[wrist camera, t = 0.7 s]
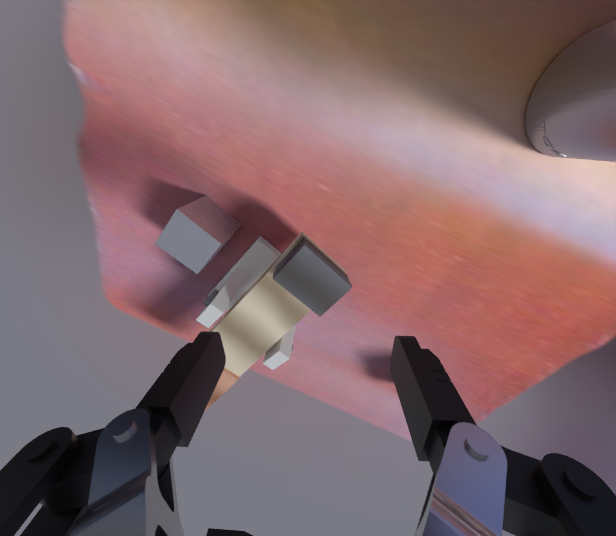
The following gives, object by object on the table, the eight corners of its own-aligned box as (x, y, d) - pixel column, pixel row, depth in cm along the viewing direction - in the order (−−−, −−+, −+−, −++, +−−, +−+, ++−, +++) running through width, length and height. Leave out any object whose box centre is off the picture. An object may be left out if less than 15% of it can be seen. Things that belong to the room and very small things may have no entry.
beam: (302, 231, 22) (302, 243, 18) (344, 269, 24) (353, 288, 20) (169, 374, 29) (147, 407, 25) (210, 397, 30) (195, 431, 26)
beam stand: (259, 235, 28) (231, 272, 20) (324, 289, 31) (321, 341, 23) (210, 290, 33) (172, 338, 25) (270, 333, 36) (253, 387, 28)
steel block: (207, 195, 27) (176, 208, 21) (242, 224, 28) (221, 244, 23) (186, 224, 29) (154, 244, 23) (220, 250, 30) (197, 274, 25)
